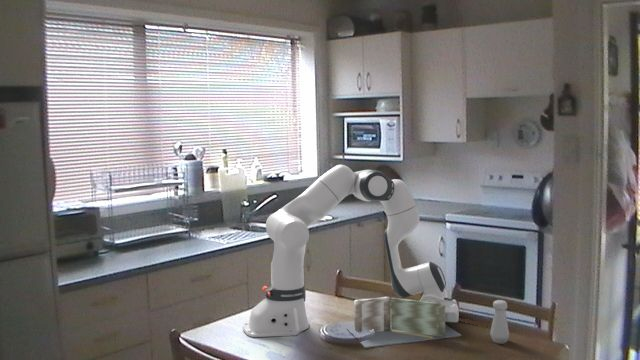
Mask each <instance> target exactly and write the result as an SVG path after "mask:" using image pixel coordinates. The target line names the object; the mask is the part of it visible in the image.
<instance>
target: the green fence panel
mask: <svg viewBox="0 0 640 360" xmlns="http://www.w3.org/2000/svg"><path fill="white" fill-rule="evenodd" d="M390 308H391V330H398V331H406V332H413V333H420V334H427V335H434V336H439V337H445V324H446V322H445V305H441V303H435V302H426V301H420V300H417V299H410V298H409V299H408V298H402V297H400V298H398V297H390Z"/></svg>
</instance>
